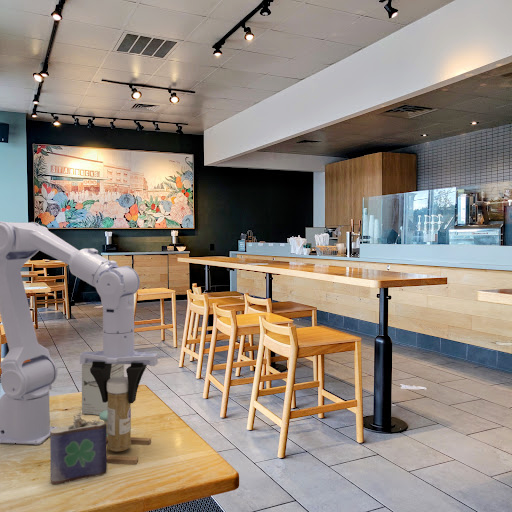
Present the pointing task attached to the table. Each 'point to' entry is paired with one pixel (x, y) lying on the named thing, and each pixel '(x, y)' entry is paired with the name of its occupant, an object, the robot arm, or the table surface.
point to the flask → (78, 451)
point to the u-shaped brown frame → (128, 459)
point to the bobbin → (104, 419)
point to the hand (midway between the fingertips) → (119, 401)
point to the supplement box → (95, 389)
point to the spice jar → (118, 414)
